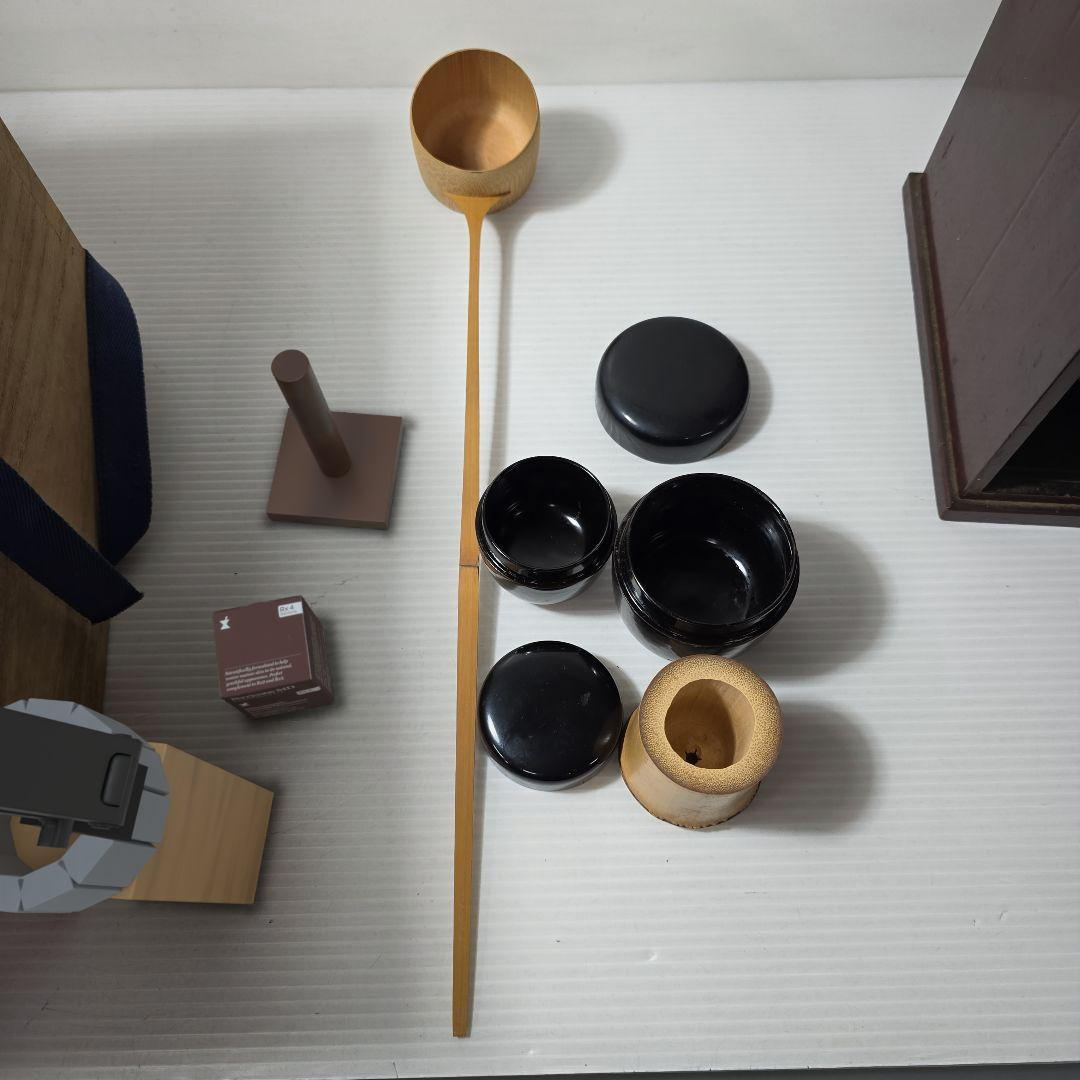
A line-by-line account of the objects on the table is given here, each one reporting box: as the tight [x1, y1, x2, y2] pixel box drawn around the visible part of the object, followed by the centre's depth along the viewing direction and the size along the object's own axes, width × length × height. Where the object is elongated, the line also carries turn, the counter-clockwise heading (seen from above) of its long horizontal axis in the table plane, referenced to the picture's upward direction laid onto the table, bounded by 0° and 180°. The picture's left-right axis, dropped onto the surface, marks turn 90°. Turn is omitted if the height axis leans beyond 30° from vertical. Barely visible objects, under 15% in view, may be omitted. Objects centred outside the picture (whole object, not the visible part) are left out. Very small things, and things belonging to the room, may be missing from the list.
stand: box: [9, 741, 275, 905], centre depth 55 cm, size 7×7×20 cm
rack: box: [265, 348, 405, 531], centre depth 67 cm, size 9×9×16 cm
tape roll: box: [0, 697, 171, 914], centre depth 43 cm, size 9×9×5 cm
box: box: [211, 594, 334, 720], centre depth 65 cm, size 6×6×7 cm
